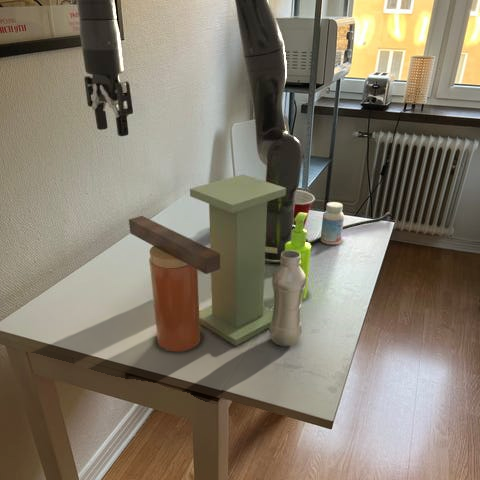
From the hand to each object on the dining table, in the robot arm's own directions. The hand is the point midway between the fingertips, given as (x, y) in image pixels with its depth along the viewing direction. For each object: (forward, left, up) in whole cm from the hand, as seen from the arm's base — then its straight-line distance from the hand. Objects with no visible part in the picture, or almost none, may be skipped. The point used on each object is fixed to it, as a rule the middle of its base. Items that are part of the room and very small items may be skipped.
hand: (112, 132), depth 106 cm
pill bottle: (-60, -7, -36) cm, 70 cm away
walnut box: (-6, +29, -16) cm, 34 cm away
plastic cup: (-52, -16, -36) cm, 65 cm away
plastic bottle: (-27, +37, -36) cm, 58 cm away
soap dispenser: (-37, +19, -36) cm, 55 cm away
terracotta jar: (-6, +29, -36) cm, 47 cm away
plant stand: (-20, +26, -36) cm, 49 cm away
